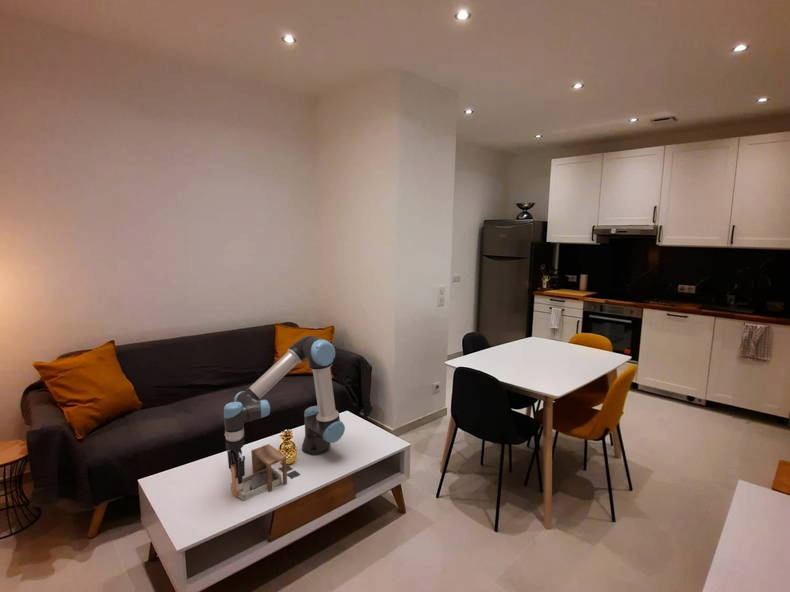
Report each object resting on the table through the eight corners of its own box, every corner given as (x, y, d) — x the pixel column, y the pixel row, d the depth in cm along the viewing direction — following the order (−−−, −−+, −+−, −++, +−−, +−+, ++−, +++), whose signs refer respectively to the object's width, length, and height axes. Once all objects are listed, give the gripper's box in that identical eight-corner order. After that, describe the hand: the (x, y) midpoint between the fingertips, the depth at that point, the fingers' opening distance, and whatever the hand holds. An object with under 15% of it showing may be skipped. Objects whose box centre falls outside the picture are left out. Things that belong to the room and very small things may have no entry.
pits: (287, 465, 209) (287, 464, 209) (300, 474, 200) (300, 474, 200) (278, 468, 205) (278, 468, 205) (291, 478, 197) (291, 478, 197)
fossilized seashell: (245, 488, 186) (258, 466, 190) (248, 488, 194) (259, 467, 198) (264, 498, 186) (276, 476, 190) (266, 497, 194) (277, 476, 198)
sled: (268, 472, 202) (267, 446, 200) (281, 483, 193) (280, 455, 191) (228, 489, 188) (226, 461, 186) (240, 501, 179) (238, 472, 177)
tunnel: (269, 469, 204) (268, 443, 202) (287, 483, 193) (286, 456, 191) (252, 477, 198) (251, 450, 196) (269, 492, 187) (268, 463, 185)
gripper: (218, 434, 184) (221, 482, 187) (234, 447, 172) (237, 499, 176) (234, 428, 189) (237, 476, 193) (251, 441, 177) (254, 491, 181)
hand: (237, 487), depth 184 cm, fingers closed on sled, 3 cm apart
